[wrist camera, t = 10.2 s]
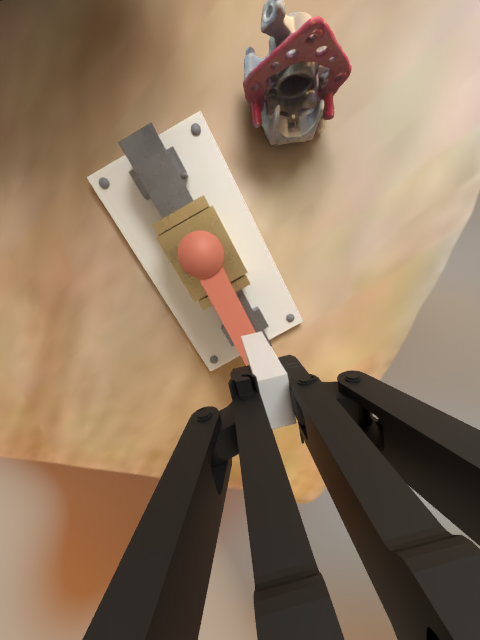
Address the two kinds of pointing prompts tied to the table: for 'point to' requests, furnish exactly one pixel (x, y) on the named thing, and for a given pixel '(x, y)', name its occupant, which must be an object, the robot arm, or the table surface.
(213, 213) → the pipe valve
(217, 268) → the lever
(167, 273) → the mount board
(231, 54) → the table surface
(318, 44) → the brake caliper
